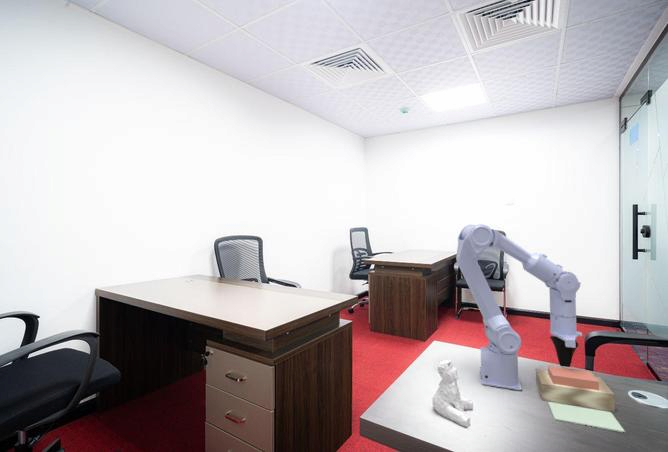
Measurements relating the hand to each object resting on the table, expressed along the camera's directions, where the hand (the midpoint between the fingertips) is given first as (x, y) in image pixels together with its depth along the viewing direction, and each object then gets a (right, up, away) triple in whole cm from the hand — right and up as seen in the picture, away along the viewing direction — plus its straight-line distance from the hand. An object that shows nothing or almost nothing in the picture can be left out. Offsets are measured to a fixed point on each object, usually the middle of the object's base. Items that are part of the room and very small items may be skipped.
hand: (564, 365), depth 87 cm
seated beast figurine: (-35, -6, -12) cm, 38 cm away
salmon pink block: (-3, -1, -7) cm, 8 cm away
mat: (-7, -5, -15) cm, 17 cm away
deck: (-3, -5, -6) cm, 9 cm away
